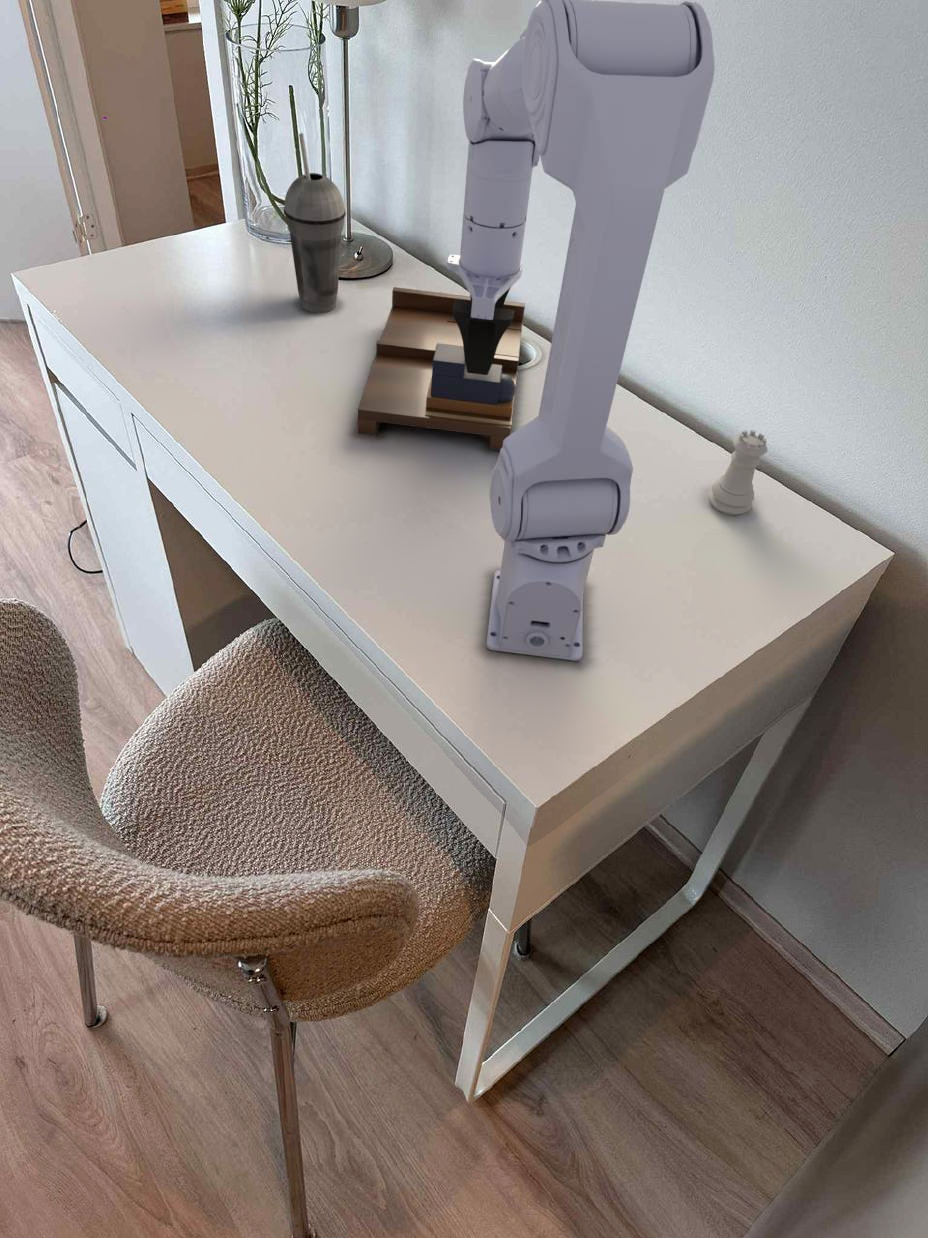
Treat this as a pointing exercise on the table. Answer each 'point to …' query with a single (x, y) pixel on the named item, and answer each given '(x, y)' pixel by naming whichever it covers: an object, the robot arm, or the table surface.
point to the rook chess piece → (739, 475)
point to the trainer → (468, 385)
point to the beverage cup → (315, 236)
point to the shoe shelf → (428, 367)
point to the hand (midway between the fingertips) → (480, 352)
